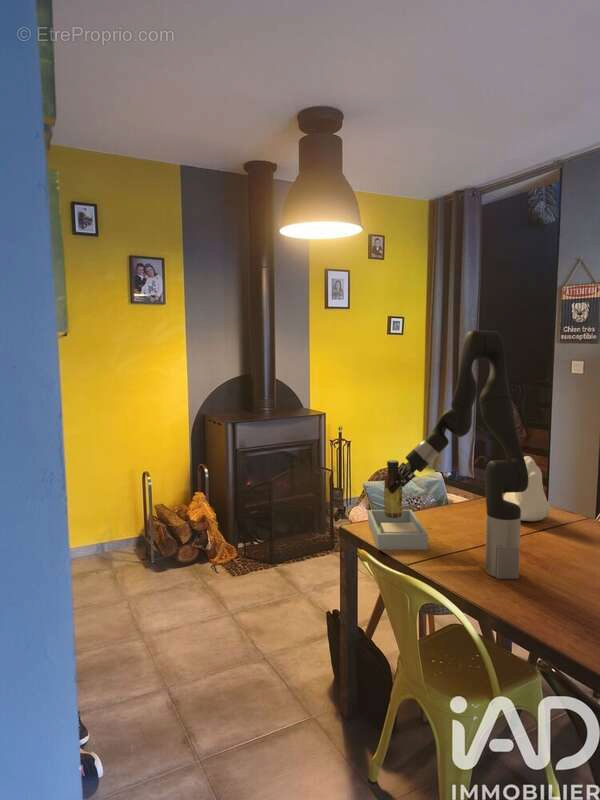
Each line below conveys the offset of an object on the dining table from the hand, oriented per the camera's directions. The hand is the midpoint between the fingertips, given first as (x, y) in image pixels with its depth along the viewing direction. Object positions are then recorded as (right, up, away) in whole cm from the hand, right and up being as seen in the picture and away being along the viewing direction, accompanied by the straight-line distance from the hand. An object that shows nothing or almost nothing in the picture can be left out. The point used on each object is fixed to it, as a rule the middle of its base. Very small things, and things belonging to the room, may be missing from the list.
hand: (388, 489), depth 190 cm
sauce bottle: (+2, -10, +1) cm, 10 cm away
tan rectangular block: (+2, -16, -10) cm, 19 cm away
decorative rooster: (+56, -14, +18) cm, 60 cm away
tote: (+2, -16, -4) cm, 17 cm away
